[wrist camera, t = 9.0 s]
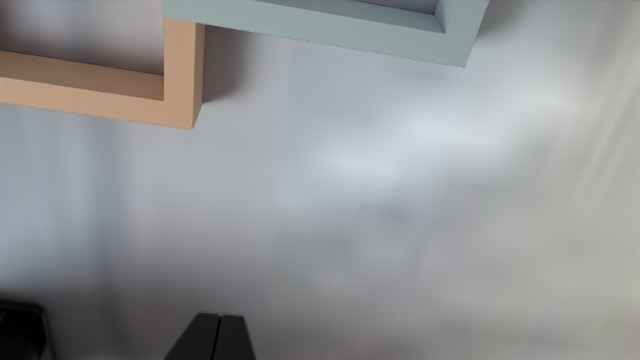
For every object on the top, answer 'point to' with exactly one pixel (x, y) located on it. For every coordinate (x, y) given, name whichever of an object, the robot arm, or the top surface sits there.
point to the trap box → (242, 14)
